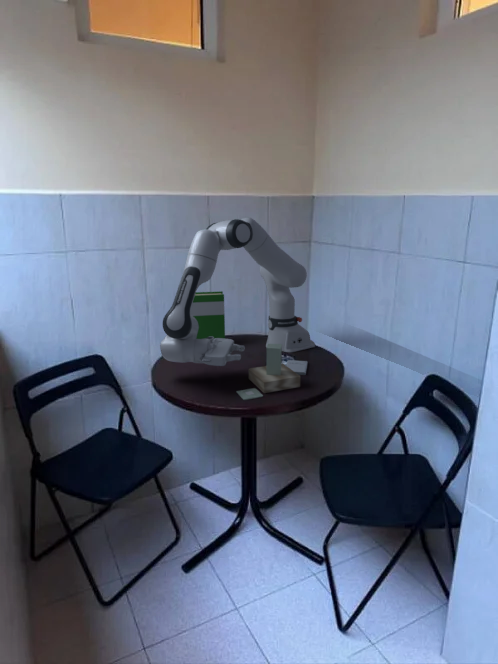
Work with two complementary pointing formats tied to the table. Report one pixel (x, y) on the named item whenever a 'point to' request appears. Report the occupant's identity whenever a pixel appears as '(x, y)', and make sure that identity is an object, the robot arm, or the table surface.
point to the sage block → (274, 359)
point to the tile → (249, 394)
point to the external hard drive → (297, 366)
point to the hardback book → (209, 314)
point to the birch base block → (274, 379)
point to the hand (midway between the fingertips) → (242, 352)
